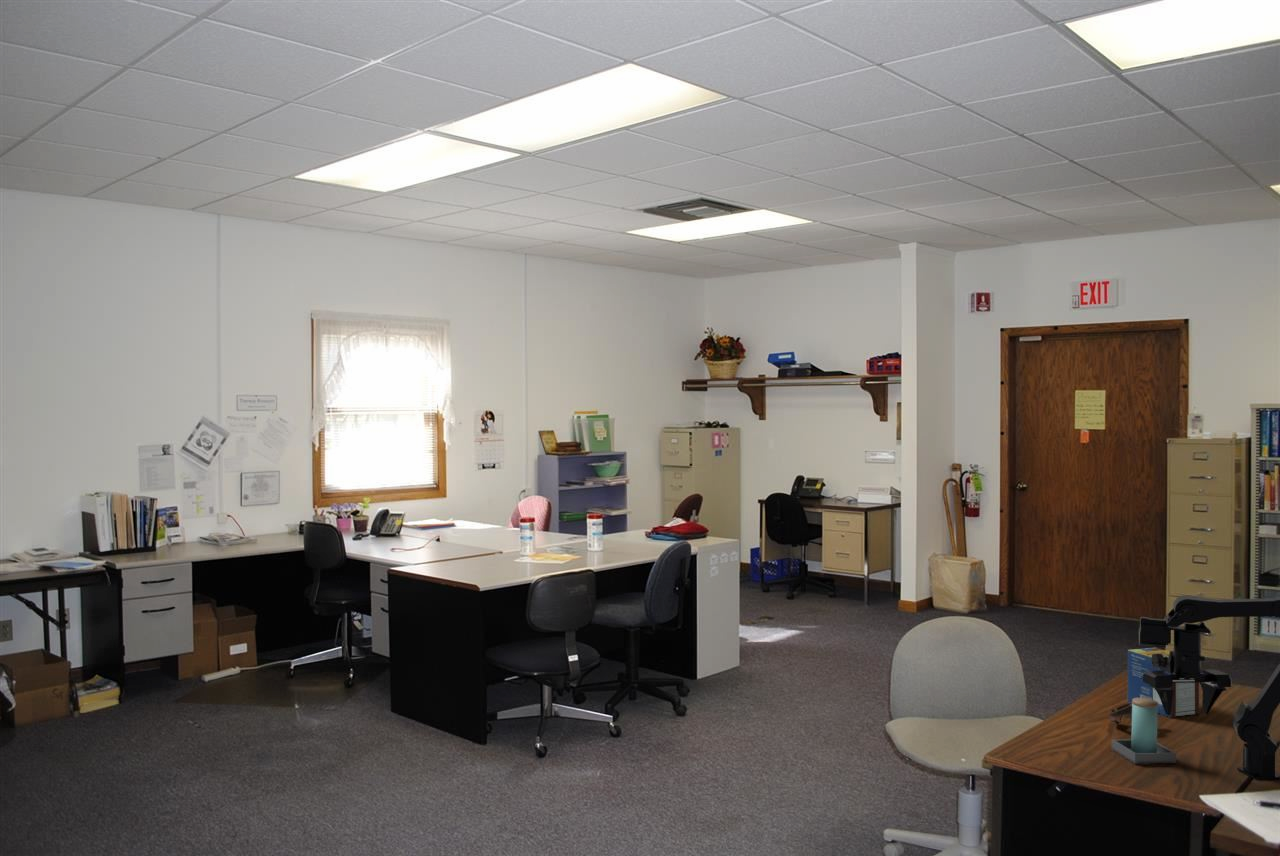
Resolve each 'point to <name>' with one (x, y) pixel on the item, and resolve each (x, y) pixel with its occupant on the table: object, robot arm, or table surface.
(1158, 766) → the table surface
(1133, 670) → the protein box
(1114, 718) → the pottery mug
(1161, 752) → the tray
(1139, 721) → the canister
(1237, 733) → the robot arm
